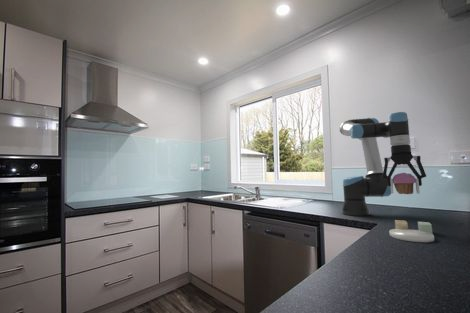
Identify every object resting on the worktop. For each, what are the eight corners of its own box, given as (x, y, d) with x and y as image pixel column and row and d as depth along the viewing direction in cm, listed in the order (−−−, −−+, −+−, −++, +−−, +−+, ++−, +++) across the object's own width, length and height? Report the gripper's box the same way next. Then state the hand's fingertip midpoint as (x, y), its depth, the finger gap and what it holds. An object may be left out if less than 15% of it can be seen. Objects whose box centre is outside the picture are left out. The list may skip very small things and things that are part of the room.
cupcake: (421, 194, 101) (419, 172, 102) (408, 195, 98) (406, 172, 99) (401, 193, 110) (399, 172, 110) (388, 194, 107) (386, 173, 108)
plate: (388, 231, 98) (388, 227, 98) (430, 234, 91) (429, 230, 91) (390, 239, 86) (390, 235, 86) (438, 244, 79) (438, 239, 79)
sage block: (418, 230, 98) (417, 221, 98) (430, 232, 95) (429, 222, 96) (419, 234, 93) (418, 224, 93) (432, 235, 90) (431, 225, 91)
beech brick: (395, 229, 102) (394, 220, 102) (406, 229, 100) (405, 220, 100) (396, 232, 97) (396, 222, 97) (408, 233, 95) (407, 223, 95)
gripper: (373, 146, 108) (377, 193, 106) (432, 141, 97) (437, 194, 95) (373, 147, 115) (377, 192, 113) (428, 143, 104) (433, 192, 102)
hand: (404, 193), depth 104 cm, fingers closed on cupcake, 9 cm apart
